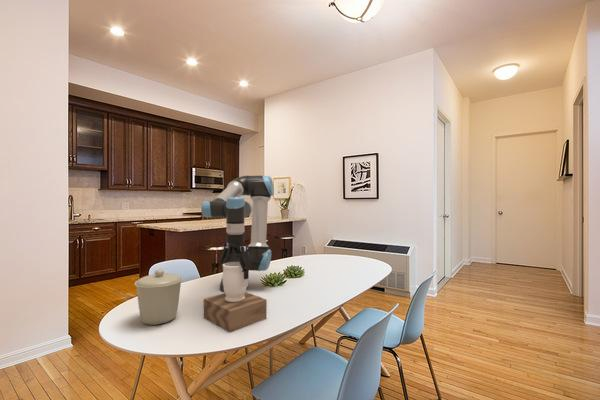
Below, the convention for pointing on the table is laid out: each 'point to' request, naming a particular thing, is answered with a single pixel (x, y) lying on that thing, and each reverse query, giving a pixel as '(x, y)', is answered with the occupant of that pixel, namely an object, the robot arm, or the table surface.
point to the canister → (158, 297)
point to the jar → (233, 282)
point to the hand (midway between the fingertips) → (235, 283)
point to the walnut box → (235, 311)
